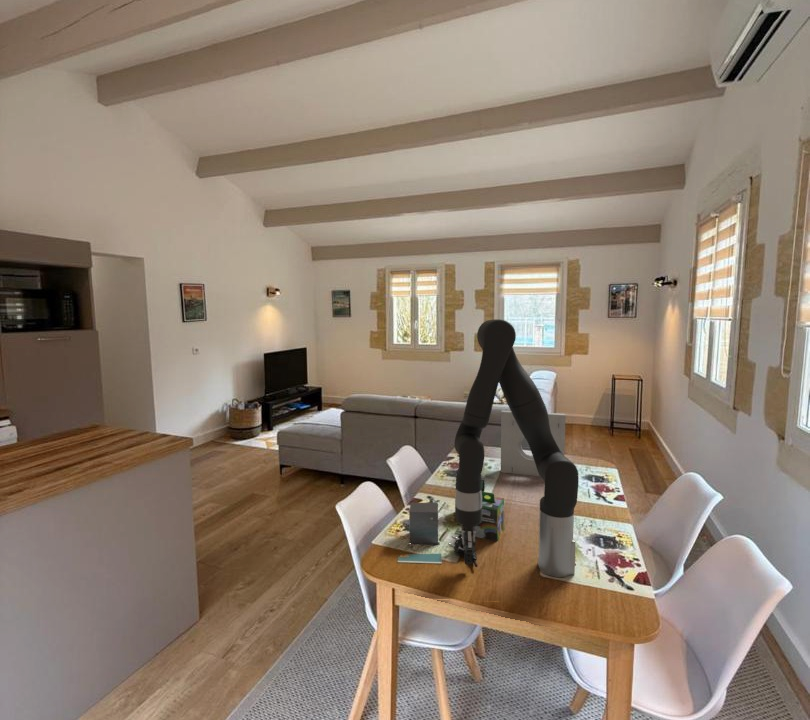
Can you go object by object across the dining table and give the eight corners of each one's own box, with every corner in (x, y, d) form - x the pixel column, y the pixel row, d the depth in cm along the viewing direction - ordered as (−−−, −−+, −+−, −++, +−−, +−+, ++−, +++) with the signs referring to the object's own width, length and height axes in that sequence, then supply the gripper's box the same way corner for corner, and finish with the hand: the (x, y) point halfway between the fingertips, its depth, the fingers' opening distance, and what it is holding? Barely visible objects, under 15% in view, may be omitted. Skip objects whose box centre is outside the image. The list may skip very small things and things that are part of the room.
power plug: (483, 558, 124) (474, 537, 136) (459, 548, 124) (452, 527, 136) (474, 575, 125) (465, 553, 137) (450, 565, 124) (444, 543, 136)
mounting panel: (500, 479, 195) (500, 412, 192) (500, 475, 200) (501, 410, 197) (563, 485, 187) (565, 416, 184) (563, 480, 192) (565, 413, 189)
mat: (441, 548, 137) (441, 547, 137) (441, 564, 128) (441, 563, 128) (399, 547, 138) (399, 546, 138) (397, 563, 129) (397, 561, 129)
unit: (439, 534, 146) (439, 502, 145) (439, 546, 138) (439, 513, 137) (409, 533, 147) (409, 501, 146) (408, 545, 139) (407, 512, 138)
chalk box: (504, 531, 148) (505, 488, 146) (497, 543, 140) (498, 499, 138) (478, 525, 152) (478, 484, 150) (469, 537, 144) (470, 493, 142)
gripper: (484, 515, 116) (484, 577, 117) (479, 495, 129) (479, 551, 131) (456, 514, 116) (456, 576, 118) (454, 494, 129) (454, 550, 131)
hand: (468, 562), depth 124 cm, fingers closed
